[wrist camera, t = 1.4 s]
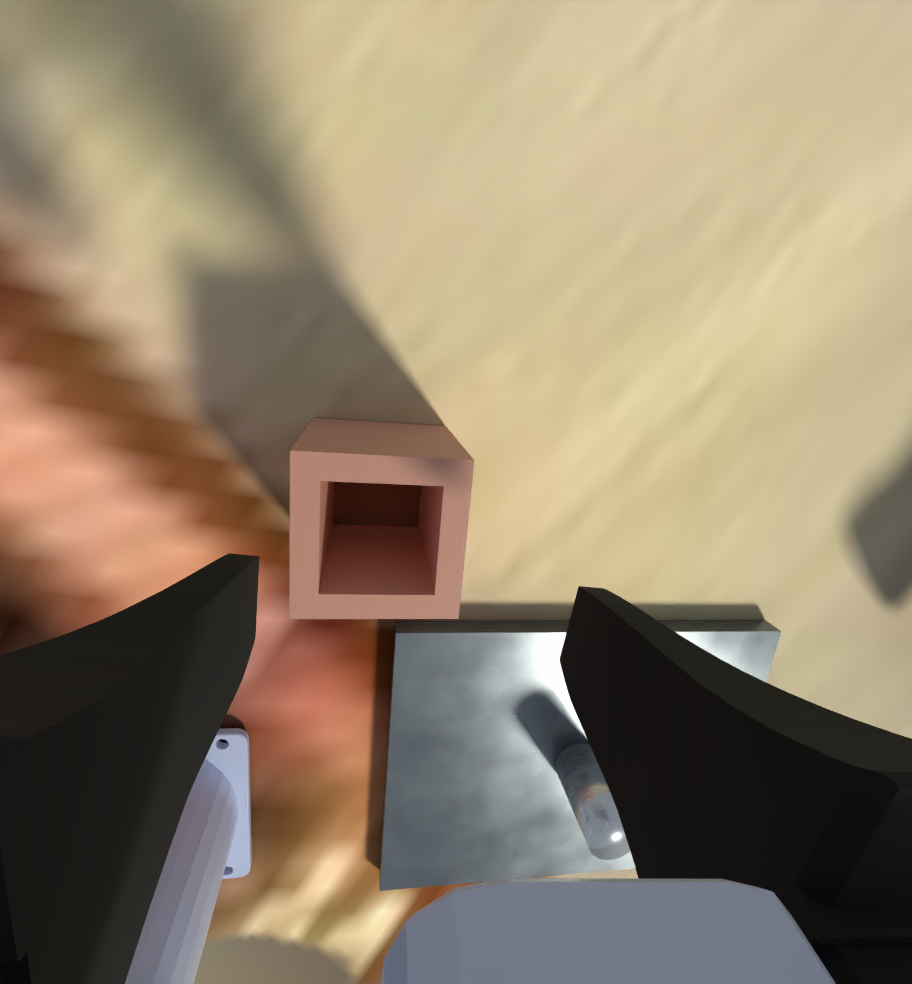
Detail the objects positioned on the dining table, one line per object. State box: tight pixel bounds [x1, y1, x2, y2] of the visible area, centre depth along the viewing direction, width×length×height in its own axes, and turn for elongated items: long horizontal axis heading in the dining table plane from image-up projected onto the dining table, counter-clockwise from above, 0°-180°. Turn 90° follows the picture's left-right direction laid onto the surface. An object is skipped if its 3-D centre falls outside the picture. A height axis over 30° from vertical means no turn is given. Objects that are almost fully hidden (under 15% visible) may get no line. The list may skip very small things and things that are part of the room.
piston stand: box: [379, 620, 781, 891], centre depth 24 cm, size 18×14×5 cm
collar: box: [290, 418, 474, 619], centre depth 18 cm, size 5×5×6 cm
